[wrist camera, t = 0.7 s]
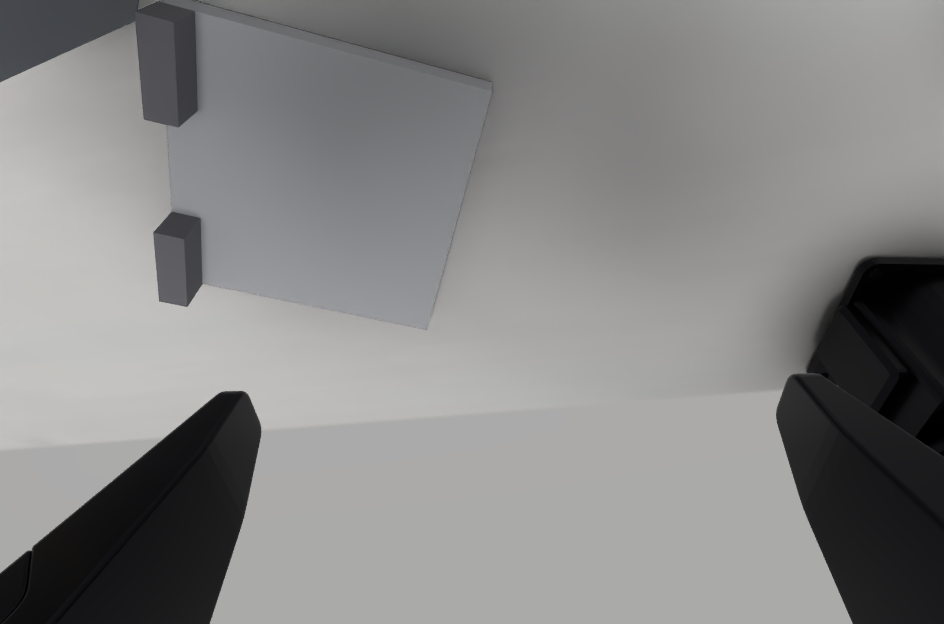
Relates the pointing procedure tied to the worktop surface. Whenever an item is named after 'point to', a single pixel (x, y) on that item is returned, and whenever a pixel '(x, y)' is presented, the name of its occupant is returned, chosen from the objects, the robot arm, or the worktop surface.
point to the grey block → (54, 28)
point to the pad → (304, 163)
